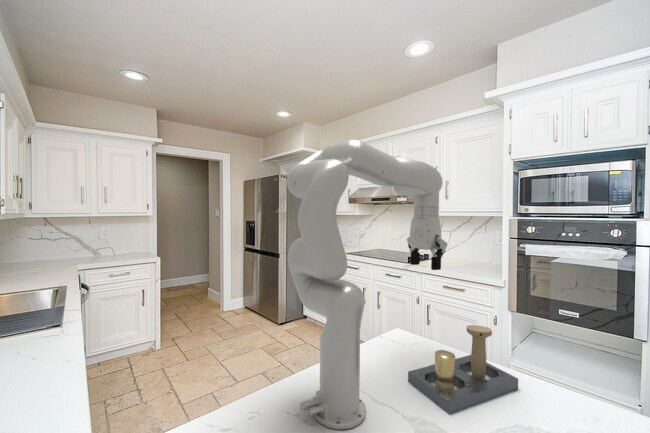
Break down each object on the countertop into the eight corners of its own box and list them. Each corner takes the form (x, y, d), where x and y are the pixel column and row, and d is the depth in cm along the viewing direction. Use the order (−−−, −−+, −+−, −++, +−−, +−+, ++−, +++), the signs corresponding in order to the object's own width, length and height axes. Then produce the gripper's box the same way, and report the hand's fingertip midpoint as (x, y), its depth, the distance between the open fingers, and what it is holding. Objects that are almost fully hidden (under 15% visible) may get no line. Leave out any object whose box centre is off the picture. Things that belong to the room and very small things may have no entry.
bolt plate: (449, 414, 72) (449, 402, 72) (408, 381, 86) (408, 371, 86) (518, 389, 82) (518, 378, 82) (471, 364, 96) (471, 354, 96)
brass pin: (444, 398, 78) (445, 360, 78) (430, 388, 83) (430, 352, 82) (458, 394, 80) (459, 356, 80) (444, 384, 85) (444, 348, 84)
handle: (493, 387, 83) (494, 333, 83) (467, 383, 85) (468, 330, 85) (488, 377, 88) (489, 326, 88) (464, 374, 90) (465, 324, 89)
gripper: (399, 212, 103) (398, 263, 103) (436, 213, 87) (435, 272, 87) (417, 213, 106) (416, 262, 106) (456, 213, 90) (455, 271, 90)
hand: (425, 267), depth 96 cm, fingers open, 9 cm apart
